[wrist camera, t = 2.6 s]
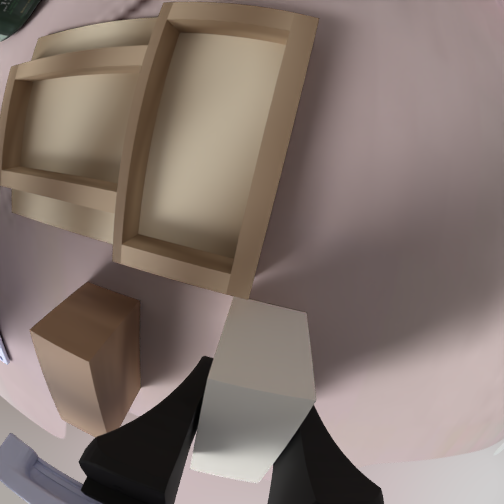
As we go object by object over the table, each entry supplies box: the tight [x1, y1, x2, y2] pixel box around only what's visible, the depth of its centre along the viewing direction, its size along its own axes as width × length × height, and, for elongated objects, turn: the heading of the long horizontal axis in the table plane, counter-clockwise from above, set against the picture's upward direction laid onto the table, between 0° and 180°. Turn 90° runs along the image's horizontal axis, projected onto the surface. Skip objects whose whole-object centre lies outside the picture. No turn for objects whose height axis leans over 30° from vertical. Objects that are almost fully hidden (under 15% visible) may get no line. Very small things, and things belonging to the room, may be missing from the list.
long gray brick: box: [190, 297, 316, 483], centre depth 11 cm, size 3×7×5 cm, turn 167°
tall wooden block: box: [30, 282, 141, 437], centre depth 12 cm, size 7×3×5 cm, turn 167°
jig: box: [0, 2, 319, 300], centre depth 9 cm, size 14×10×2 cm
